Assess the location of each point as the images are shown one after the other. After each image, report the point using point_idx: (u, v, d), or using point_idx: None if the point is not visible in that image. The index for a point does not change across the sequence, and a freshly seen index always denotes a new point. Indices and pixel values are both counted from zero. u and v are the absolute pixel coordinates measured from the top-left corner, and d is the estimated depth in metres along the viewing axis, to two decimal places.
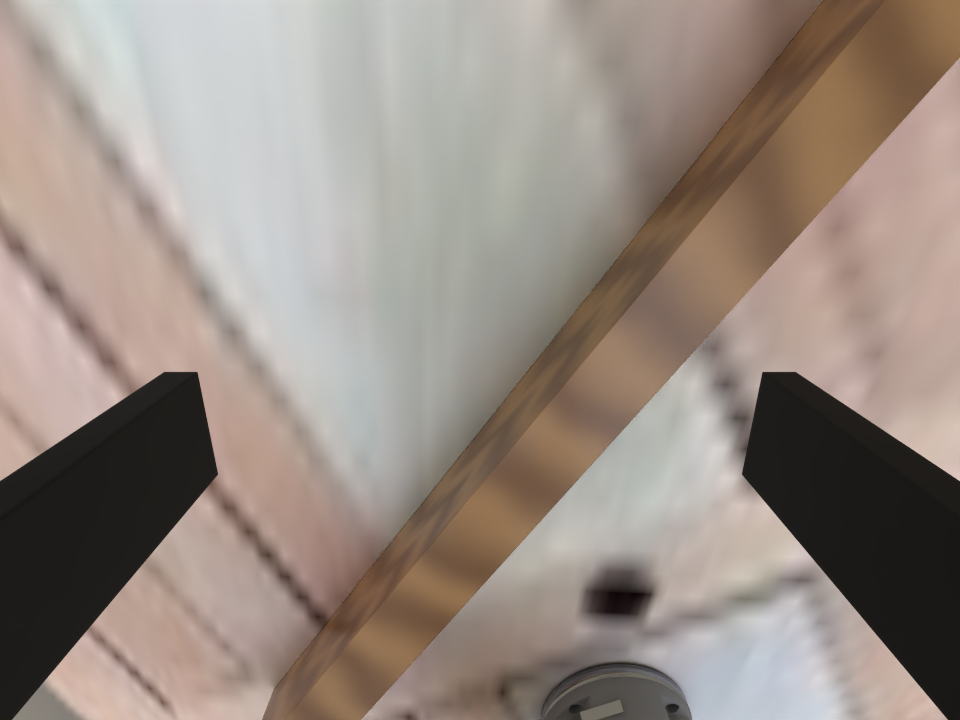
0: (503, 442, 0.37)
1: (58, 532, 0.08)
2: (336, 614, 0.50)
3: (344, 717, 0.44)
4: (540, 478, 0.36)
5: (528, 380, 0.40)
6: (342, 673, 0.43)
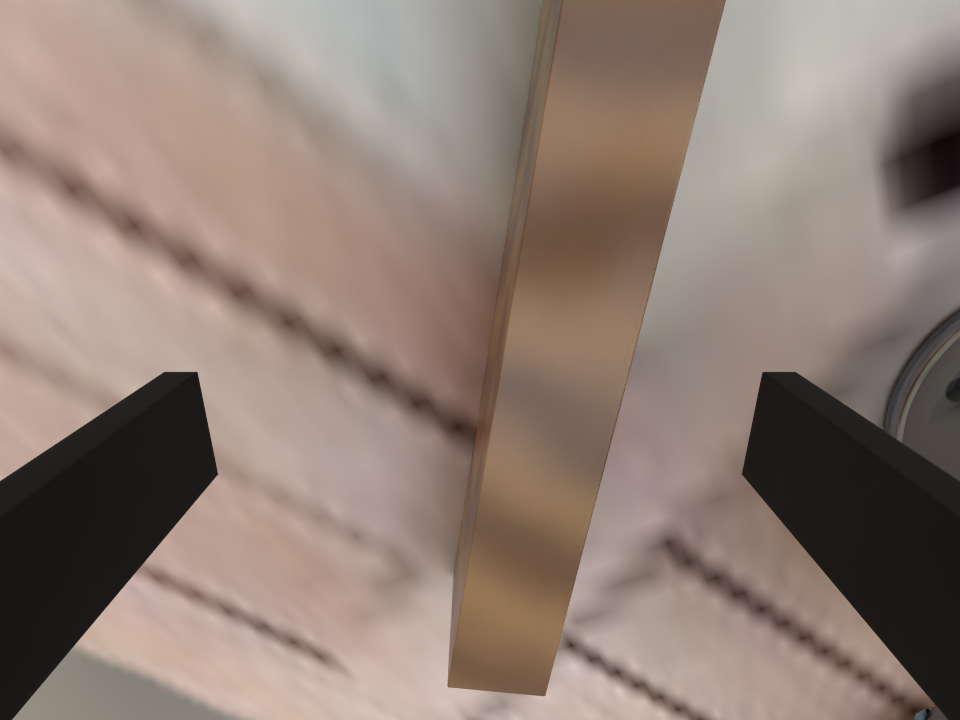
0: None
1: (58, 532, 0.08)
2: (481, 402, 0.30)
3: (562, 519, 0.24)
4: None
5: None
6: (520, 427, 0.22)
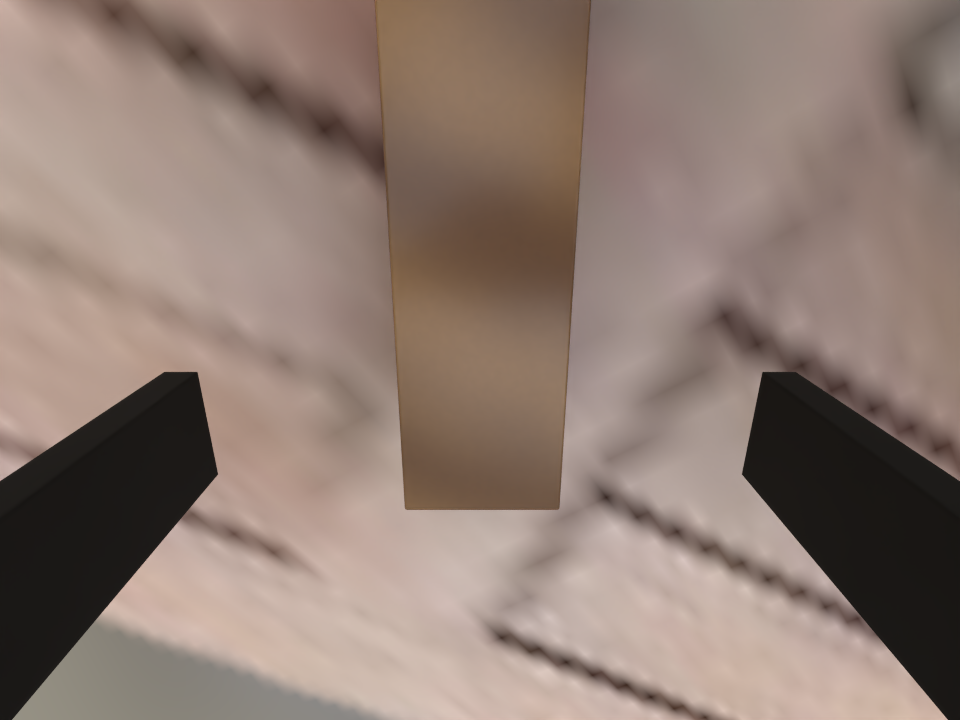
0: None
1: (58, 532, 0.08)
2: None
3: (533, 150, 0.14)
4: None
5: None
6: None
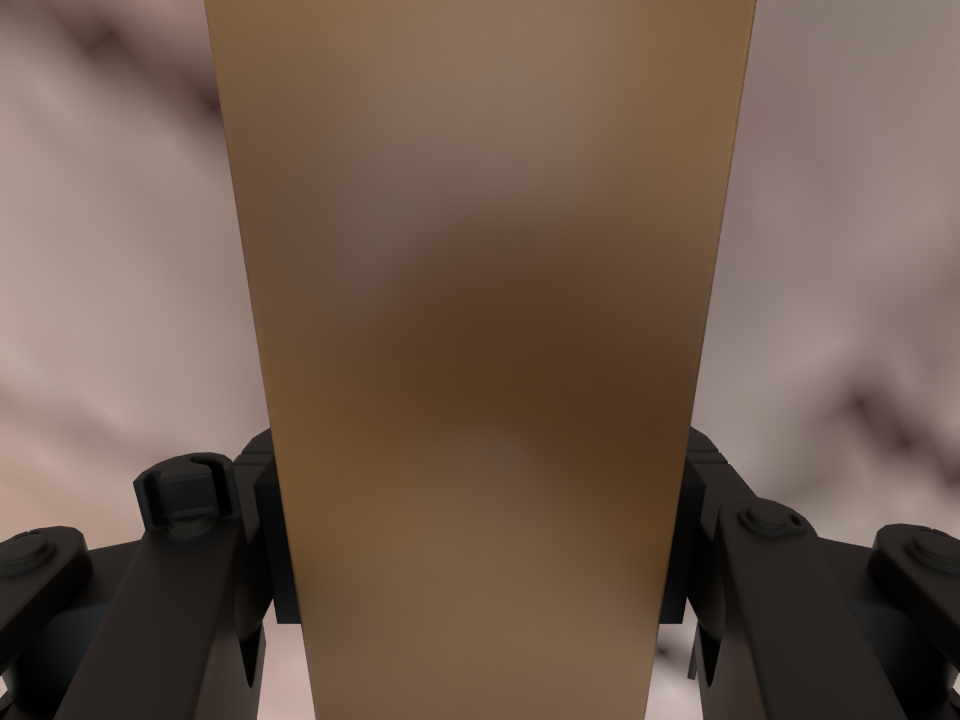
0: None
1: None
2: None
3: (611, 132, 0.05)
4: None
5: None
6: None
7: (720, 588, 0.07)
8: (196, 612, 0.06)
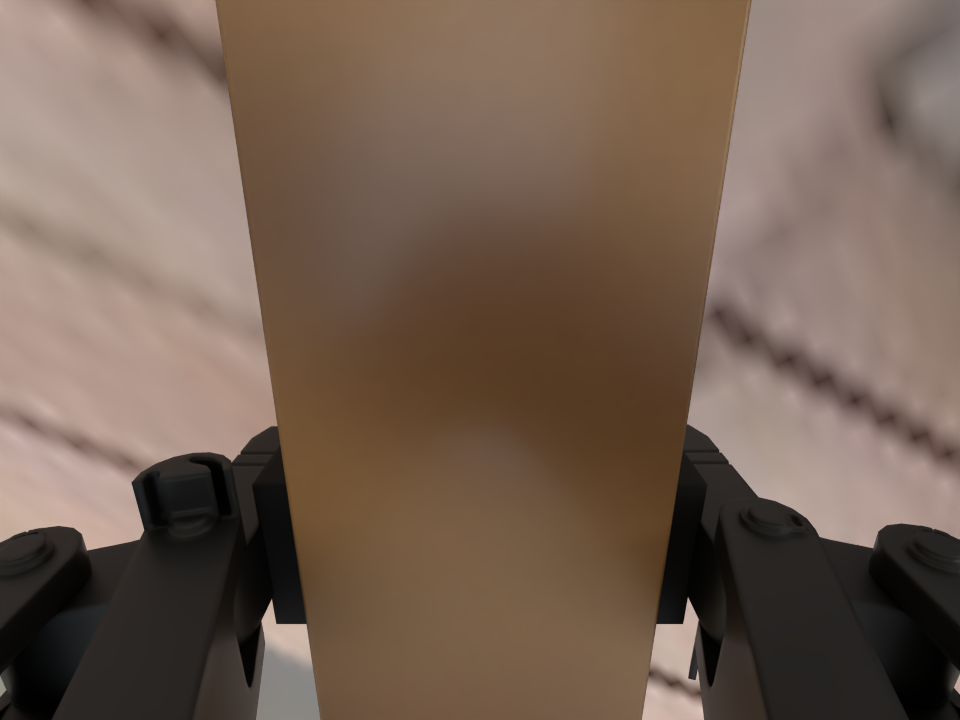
0: None
1: None
2: None
3: (611, 125, 0.05)
4: None
5: None
6: None
7: (721, 588, 0.07)
8: (195, 612, 0.06)
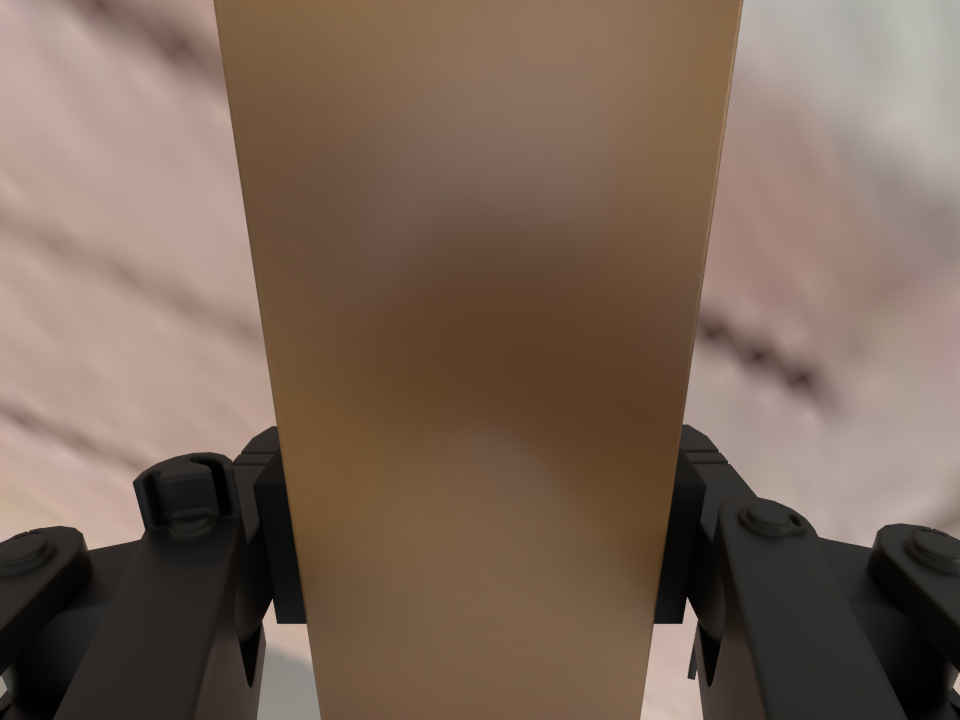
0: None
1: None
2: None
3: (605, 122, 0.06)
4: None
5: None
6: None
7: (720, 588, 0.07)
8: (196, 612, 0.06)
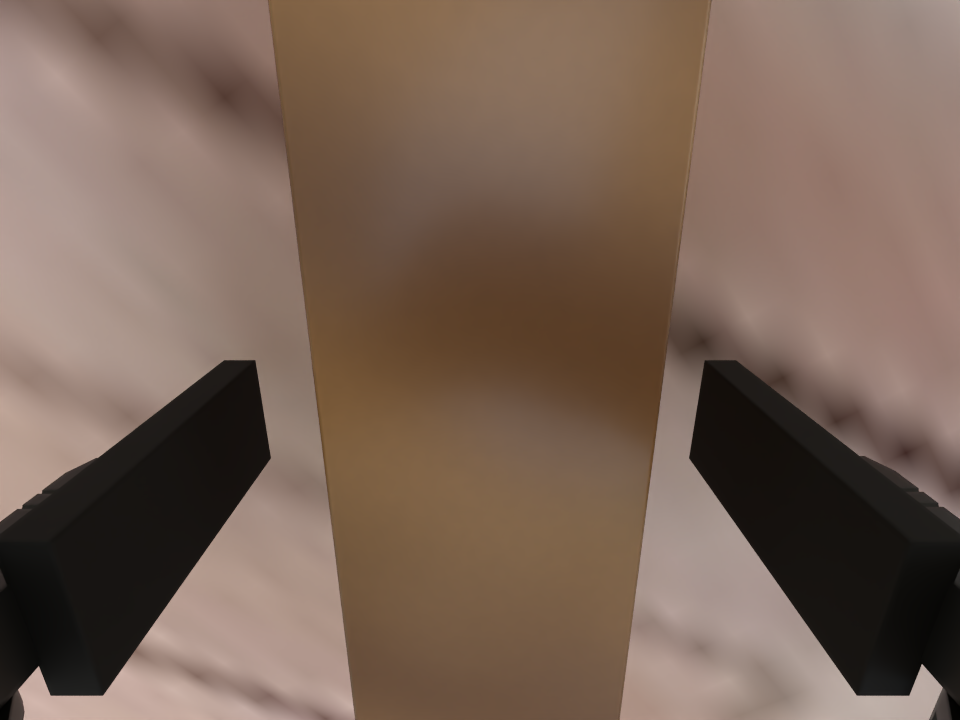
0: None
1: (153, 502, 0.09)
2: None
3: (594, 129, 0.07)
4: None
5: None
6: None
7: None
8: None
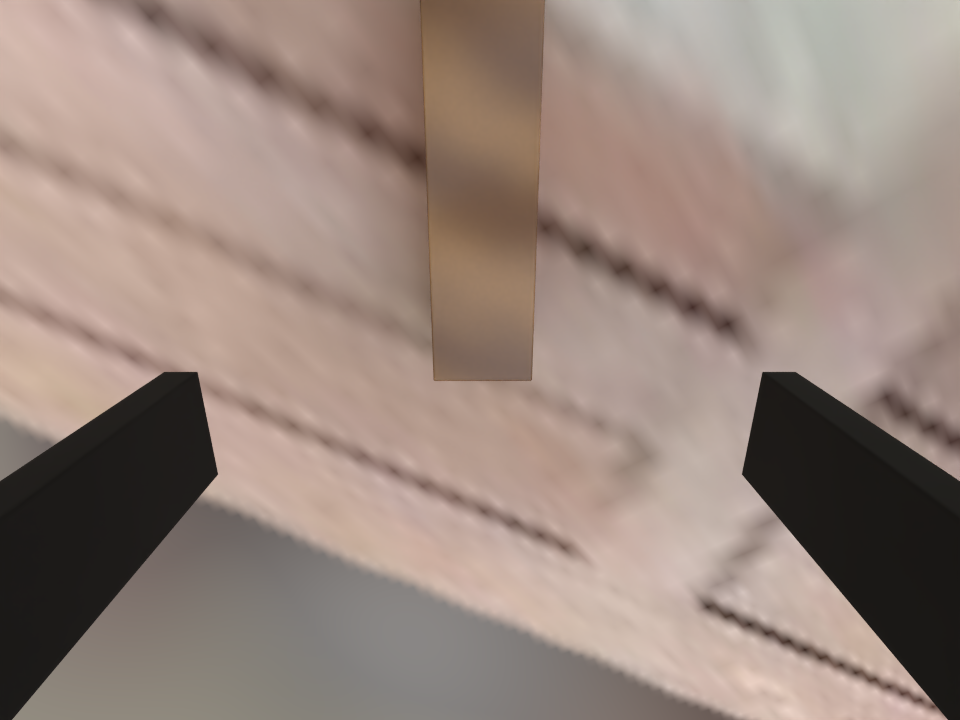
0: None
1: (58, 532, 0.08)
2: None
3: (511, 153, 0.24)
4: None
5: None
6: (450, 44, 0.23)
7: None
8: None
